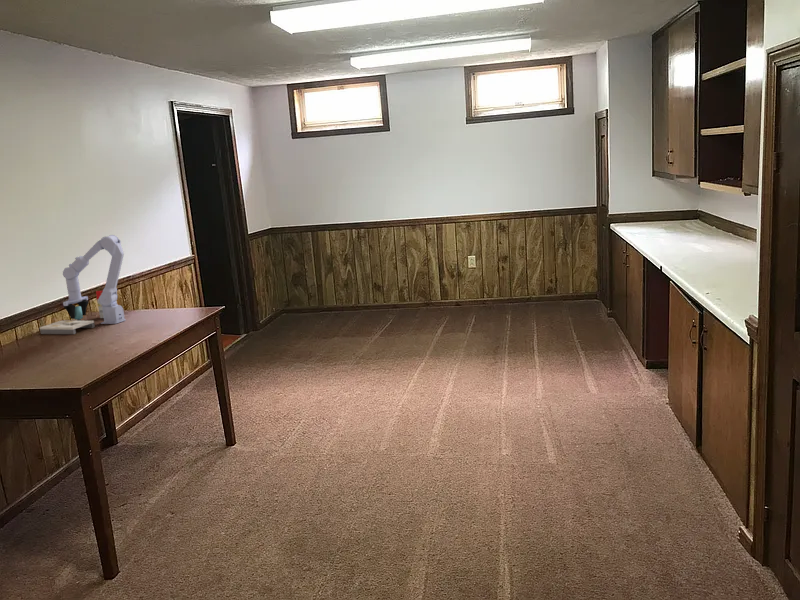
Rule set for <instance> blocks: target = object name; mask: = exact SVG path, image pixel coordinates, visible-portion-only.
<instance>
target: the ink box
mask: <svg viewBox="0 0 800 600" xmlns="http://www.w3.org/2000/svg"><path fill="white" fill-rule="evenodd" d="M102 292H103V290H96V291H95V294H96V301H97V309H98V313H99V319H104V316H103V310H102V304H100V302H99V297H100V295H101V294H102ZM117 300H118V299H117ZM117 300H116V302H117V303H118V301H117Z"/></svg>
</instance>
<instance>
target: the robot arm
mask: <svg viewBox="0 0 800 600" xmlns="http://www.w3.org/2000/svg"><path fill="white" fill-rule="evenodd" d="M102 250H103V251H104V250H105V251H107V253H109V254H110V256H111V258H110V259H111V260H110V263H109V269H108V273H107V277H106V280H105V285H104V288H103V289H102V291H103V292H102V293H101V295H100V297H99V302H100V304H102V310H103V316H104V318H103V321H102V322H100V324H101V325H103V324H104V325H109V324H110V325H116V324H119V323H122V322H125V321H126V320H127V319H125V318H126V317H125V312H124V308H123V305H120V304H118V301H117V302H116V300H118V288H117V286H118V282H119V279H120V278H119V277H120V273H121V269H122V268H121V267H122V264H123V260H124V255H125V253H124V250H123V247H122V241H121V240H120V239H119V237H118V236H117V235H115V234H110V235H107V236H103V237H102V238H100V240H97V242H95V244H94V245H92V247H90V249H88V251H87V252H85V254H84V255H79V256H76V257H75V258H74V259H75V260H74V261H73V262H71V263H69V264H68V267H65V268H64V269H63V271H62V275H63V278H64V279H65V282H66V284H65V285H66V289H67V294H68V295H67V296H68V299H67V300H65V301H63V302H62V305H63V308H64V309H65V310H66V312H67V314H68V315H69V318H70V319H71V320H76V319H75V307H76V304H77V305H78V306H81V308H82V314H83V316H86V315H87V308H88V304H89V297H88V295H85V296H82V292H81V286H80V281H79V276H80V273H81V272H82V271H83V270H84V269H85V268H87V266H88V265H89V264H90V260H91V259H92V258H93V257H95V255H97V254H98V253H99V252H100V251H102Z"/></svg>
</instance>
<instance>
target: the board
mask: <svg viewBox="0 0 800 600" xmlns="http://www.w3.org/2000/svg"><path fill="white" fill-rule="evenodd" d="M81 328H82V329H85V328H86V329H88V328H89V329H91V328H92V329H93V328H95V320H81V321H77V320H58V321H55V322H52V323H49V324H47V325H46V324H45V325H42V326H39V331H40V334H41V335H75V334H77V331H76V329H81Z"/></svg>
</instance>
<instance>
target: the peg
mask: <svg viewBox="0 0 800 600" xmlns="http://www.w3.org/2000/svg"><path fill="white" fill-rule="evenodd" d="M83 316H84V315H83V314H82V308H81V306H79V305H78V306H77V305H75V319H74V320H76V321H82V319H84V317H83Z"/></svg>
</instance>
